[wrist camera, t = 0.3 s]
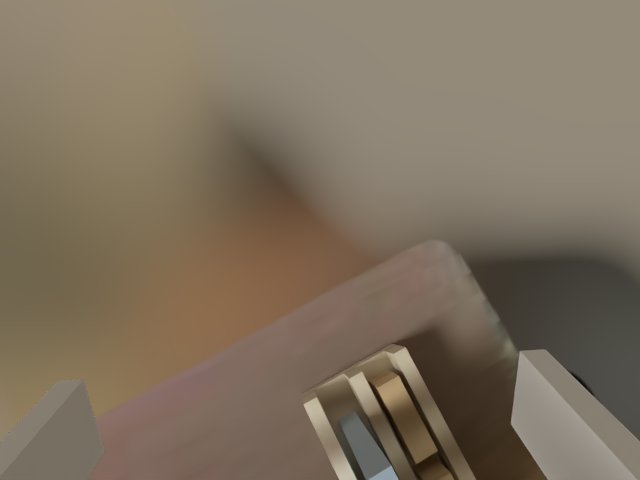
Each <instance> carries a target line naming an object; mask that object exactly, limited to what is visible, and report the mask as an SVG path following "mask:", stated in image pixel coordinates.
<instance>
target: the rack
mask: <svg viewBox="0 0 640 480" xmlns="http://www.w3.org/2000/svg"><path fill="white" fill-rule="evenodd" d="M386 370H389V371H391V372H393V373H395V374H397V375H399V377H400V379H401V381H402V383H403V385H404V387H405V389H406V391H407V393H408V394H409V396H410V398H411V400H412V402H413V404H414V406H415V408H416V410H417V412H418V414H419V415H420V417H421V419H422V421H423V423H424V425H425V427H426V429H427V431H428V433H429V435H430V437H431V438H432V440H433V442H434V444H435V446H436V448H437V450H438V451H437V452H435V453H434V454H432V455H433V456H434V457H435V458H436V459H437V460H438V461H439V462H440V463H441V464H442V465H443V466H444V467H445V468H446V469H447V470H448V471H449V472H450V473H451V475H452V477H453V479H454V480H476V479H475V477H474V475H473V473H472V471H471V469H470V467H469V465H468V464H467V462H466V460H465V458H464V456H463V454H462V452H461V450H460V448H459V447H458V445H457V443H456V441H455V439H454V437H453V435H452V433H451V432H450V430H449V428H448V426H447V424H446V422H445V420H444V418H443V417H442V415H441V413H440V411H439V409H438V407H437V405H436V403H435V402H434V400H433V398H432V396H431V394H430V392H429V390H428V388H427V387H426V385H425V383H424V381H423V379H422V377H421V375H420V373H419V371H418V370H417V368H416V366H415V364H414V362H413V360H412V358H411V356H410V355H409V353H408V351H407V349H406V347H403V346H399V345H395V344H390V345H389V346H387V347H385V348H383V349H382V350H380V351H378V352H376V353H374V354H373V355H371V356H369V357H367V358H365V359H364V360H362V361H360V362H358V363H356V364H355V365H353V366H351V367H349V368H347V369H346V370H344V371H342V372H340V373H338V374H337V375H335V376H333V377H331V378H329V379H328V380H326V381H324V382H322V383H320V384H319V385H317V386H315V387H313V388H312V389H310V390H308V391H306V392H304V393H303V394H302V398H303V405H304V407H305V409H306V411H307V413H308V415H309V417H310V419H311V422H312V424H313V426H314V428H315V430H316V432H317V434H318V436H319V438H320V440H321V443H322V445H323V447H324V449H325V451H326V453H327V455H328V457H329V459H330V461H331V463H332V466H333V468H334V470H335V472H336V474H337V476H338V478H339V480H366V479H365V477H364V475H363V472H362V470H361V468H360V466H359V464H358V462H357V459H356V457H355V455H354V453H353V451H352V449H351V446H350V444H349V442H348V440H347V438H346V436H345V433H344V431H343V429H342V427H341V425H340V423H339V419H340V418H342V417H344V416H346V415H347V414H349V413H351V412H352V411H355V413H356V414H357V416H358V417H359V419H360V420H361V421H362V423H363V424H364V426H365V427H366V429H367V430H368V432H369V433H370V435H371V436H372V438H373V439H374V441H375V442H376V443H377V445H378V446H379V448H380V449H381V451H382V452H383V454H384V455H385V457H386V458H387V460H388V461H389V463H390V464H391V466H392V468H393V470H394V472H395V474H396V476H397V478H398V480H419V479H418V477H417V475H416V473H415V471H414V469H413V467H412V466H414V465H415V464H416V463H415V462H414V461H413V459H412V458H411V457H410V456H409V455H408V454H407V452H406V451H405V450H404V449H403V447H402V445H401V443H400V441H399V439H398V437H397V435H396V433H395V431H394V429H393V428H392V426H391V424H390V422H389V420H388V418H387V416H386V414H385V412H384V410H383V408H382V406H381V404H380V402H379V400H378V398H377V396H376V394H375V392H374V390H373V388H372V386H371V384H370V382H369V380H370V379H372V378H374V377H376V376H378V375H379V374H381V373H383V372H385V371H386Z"/></svg>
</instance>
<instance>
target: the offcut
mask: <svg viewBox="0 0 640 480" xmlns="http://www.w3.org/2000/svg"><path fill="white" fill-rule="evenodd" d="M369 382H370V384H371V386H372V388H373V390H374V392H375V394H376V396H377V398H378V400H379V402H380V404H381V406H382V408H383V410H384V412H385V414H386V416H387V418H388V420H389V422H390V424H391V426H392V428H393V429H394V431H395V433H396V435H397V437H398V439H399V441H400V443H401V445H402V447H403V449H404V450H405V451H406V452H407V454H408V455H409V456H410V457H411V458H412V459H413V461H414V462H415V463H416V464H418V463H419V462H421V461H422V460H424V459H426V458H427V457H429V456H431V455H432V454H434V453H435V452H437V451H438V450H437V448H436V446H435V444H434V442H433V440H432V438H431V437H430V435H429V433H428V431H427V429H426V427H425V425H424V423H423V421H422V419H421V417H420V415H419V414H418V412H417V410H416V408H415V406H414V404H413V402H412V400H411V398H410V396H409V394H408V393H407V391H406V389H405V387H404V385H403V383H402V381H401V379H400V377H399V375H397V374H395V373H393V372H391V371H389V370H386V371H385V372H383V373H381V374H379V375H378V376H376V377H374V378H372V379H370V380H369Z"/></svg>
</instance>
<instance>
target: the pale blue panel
mask: <svg viewBox="0 0 640 480" xmlns="http://www.w3.org/2000/svg"><path fill="white" fill-rule="evenodd" d="M339 423H340V425H341V427H342V429H343V431H344V433H345V436H346V438H347V440H348V442H349V444H350V446H351V449H352V451H353V453H354V455H355V457H356V459H357V462H358V464H359V466H360V468H361V470H362V472H363V475H364V477H365V479H366V480H398V478H397V476H396V474H395V472H394V470H393V468H392V466H391V464H390V463H389V461H388V460H387V458H386V457H385V455H384V454H383V452H382V451H381V449H380V448H379V446H378V445H377V443H376V442H375V441H374V439H373V438H372V436H371V435H370V433H369V432H368V430H367V429H366V427H365V426H364V424H363V423H362V421H361V420H360V419H359V417H358V416H357V414H356V413H355V411H352V412H351V413H349V414H347V415H346V416H344V417H342V418H340V419H339Z"/></svg>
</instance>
